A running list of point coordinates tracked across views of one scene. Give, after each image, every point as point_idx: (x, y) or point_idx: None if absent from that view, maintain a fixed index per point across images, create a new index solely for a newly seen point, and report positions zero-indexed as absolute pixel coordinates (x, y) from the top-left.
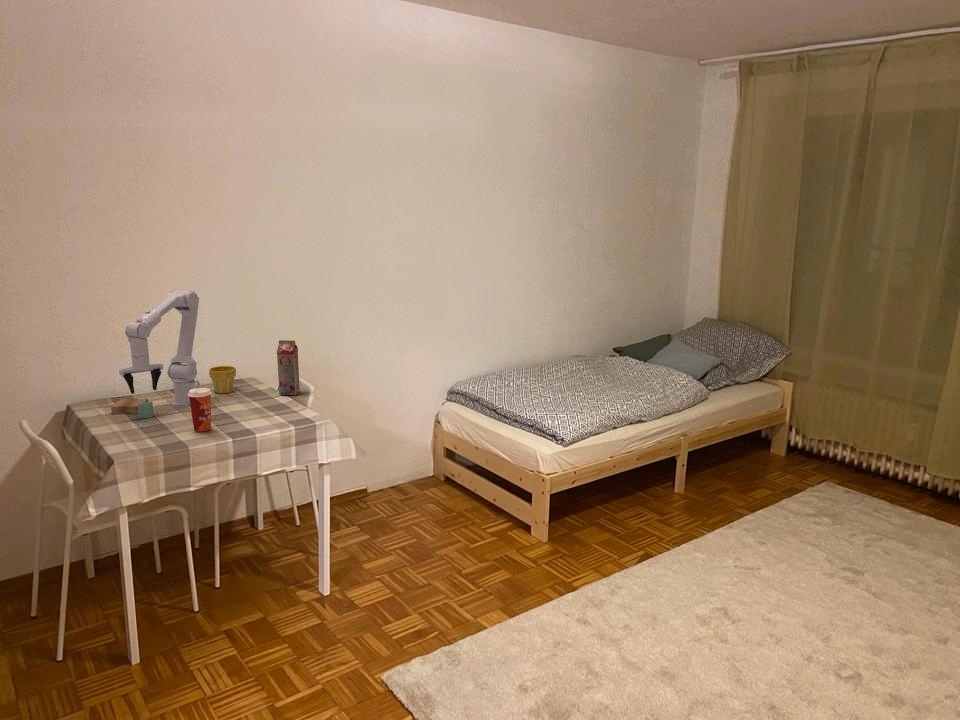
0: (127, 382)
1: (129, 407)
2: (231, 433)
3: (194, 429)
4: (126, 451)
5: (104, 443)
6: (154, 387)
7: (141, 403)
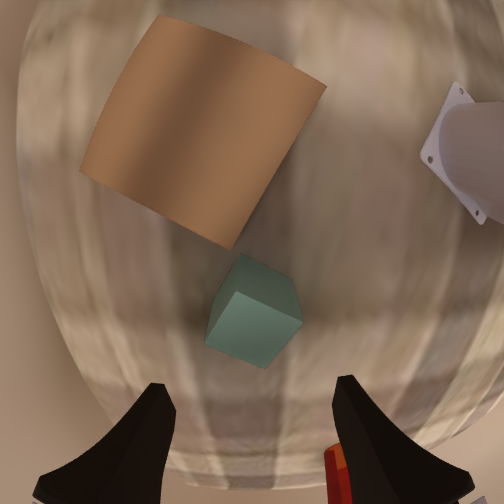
0: (104, 452)
1: (173, 216)
2: None
3: (324, 454)
4: (169, 469)
5: None
6: (335, 426)
7: (231, 329)
